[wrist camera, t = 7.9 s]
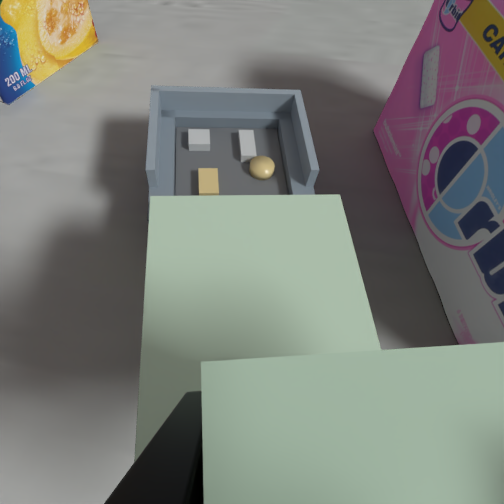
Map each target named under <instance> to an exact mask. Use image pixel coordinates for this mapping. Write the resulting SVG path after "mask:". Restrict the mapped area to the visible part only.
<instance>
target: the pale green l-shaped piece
mask: <svg viewBox="0 0 504 504" xmlns="http://www.w3.org/2000/svg"><path fill="white" fill-rule="evenodd" d="M189 391H201V392H202V440H203V488H204V504H504V342H497V343H481V344H466V345H451V346H435V347H420V348H405V349H389V350H381V347H380V343H379V339H378V336H377V332H376V328H375V324H374V321H373V317H372V313H371V309H370V306H369V302H368V298H367V294H366V291H365V287H364V283H363V279H362V276H361V272H360V268H359V264H358V261H357V257H356V253H355V249H354V245H353V242H352V238H351V234H350V230H349V227H348V223H347V219H346V215H345V212H344V208H343V204H342V200H341V197H340V194H336V195H212V196H150V209H149V226H148V243H147V259H146V276H145V293H144V310H143V326H142V343H141V360H140V376H139V393H138V410H137V426H136V443H135V460H134V462H135V461H136V460H137V458H138V457H139V456H140V454H141V453H142V452H143V450H144V449H145V447H146V446H147V445H148V443H149V442H150V441H151V439H152V438H153V437H154V435H155V434H156V433H157V431H158V430H159V428H160V427H161V426H162V424H163V423H164V422H165V420H166V419H167V418H168V416H169V415H170V413H171V412H172V411H173V409H174V408H175V407H176V405H177V404H178V403H179V401H180V400H181V399H182V397H183V396H184V394H185V393H186V392H189Z"/></svg>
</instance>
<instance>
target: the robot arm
mask: <svg viewBox="0 0 504 504" xmlns="http://www.w3.org/2000/svg"><path fill="white" fill-rule="evenodd" d="M104 504H204V488H203V440H202V392H201V391H189V392H186V393H185V394H184V396H183V397H182V399H181V400H180V401H179V403H178V404H177V405H176V407H175V408H174V409H173V411H172V412H171V413H170V415H169V416H168V418H167V419H166V420H165V422H164V423H163V424H162V426H161V427H160V428H159V430H158V431H157V433H156V434H155V435H154V437H153V438H152V439H151V441H150V442H149V443H148V445H147V446H146V447H145V449H144V450H143V452H142V453H141V454H140V456H139V457H138V458H137V460H136V461H135V462H134V464H133V465H132V466H131V468H130V469H129V471H128V472H127V473H126V475H125V476H124V477H123V479H122V480H121V481H120V483H119V484H118V486H117V487H116V488H115V490H114V491H113V492H112V494H111V495H110V496H109V498H108V499H107V500H106V502H105V503H104Z"/></svg>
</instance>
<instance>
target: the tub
mask: <svg viewBox="0 0 504 504" xmlns="http://www.w3.org/2000/svg"><path fill="white" fill-rule="evenodd" d="M318 173H319V166H318V161H317V157H316V153H315V149H314V145H313V140H312V136H311V132H310V128H309V123H308V119H307V115H306V111H305V107H304V102H303V98H302V94H301V90H288V89H253V88H219V87H185V86H151V98H150V113H149V127H148V141H147V156H146V174H147V179H148V184H149V200H148V216H147V220H148V224H149V209H150V196H212V195H315V191H314V187H313V186H314V184H315V181H316V178H317V175H318Z"/></svg>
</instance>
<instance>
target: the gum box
mask: <svg viewBox="0 0 504 504" xmlns="http://www.w3.org/2000/svg"><path fill="white" fill-rule="evenodd" d="M374 134H375V136H376V138H377V141H378V143H379V146H380V148H381V151H382V153H383V156H384V159H385V162H386V165H387V167H388V170H389V172H390V175H391V177H392V179H393V181H394V183H395V186H396V188H397V191H398V193H399V196H400V199H401V202H402V205H403V208H404V210H405V213H406V215H407V217H408V220H409V222H410V224H411V226H412V228H413V230H414V233H415V236H416V238H417V241H418V243H419V246H420V250H421V252H422V255H423V258H424V260H425V263H426V265H427V268H428V270H429V272H430V274H431V276H432V278H433V280H434V283H435V285H436V288H437V290H438V293H439V295H440V298H441V301H442V304H443V307H444V310H445V312H446V315H447V318H448V320H449V323H450V325H451V328H452V330H453V332H454V335H455V337H456V339H457V341H458V344H459V345H466V344H481V343H497V342H504V0H434V3H433V5H432V7H431V10H430V12H429V14H428V16H427V19H426V21H425V23H424V25H423V27H422V29H421V31H420V34H419V36H418V38H417V40H416V41H415V43H414V45H413V47H412V49H411V51H410V53H409V56H408V58H407V60H406V62H405V64H404V66H403V68H402V71H401V73H400V75H399V78H398V80H397V82H396V84H395V86H394V88H393V90H392V93H391V95H390V96H389V98H388V100H387V102H386V105H385V107H384V109H383V111H382V113H381V115H380V117H379V120H378V122H377V124H376V126H375V128H374Z"/></svg>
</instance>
